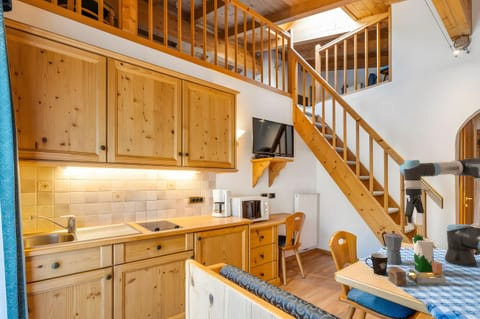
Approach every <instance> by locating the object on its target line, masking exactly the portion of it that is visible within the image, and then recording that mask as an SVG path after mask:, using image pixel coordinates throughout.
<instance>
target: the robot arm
mask: <svg viewBox="0 0 480 319" xmlns="http://www.w3.org/2000/svg"><path fill="white" fill-rule="evenodd" d="M420 161H421V160H419V159H407V160H404V161H403V163H402V164H401V165H400V166H399V173H400V175H401V176H404V182H403V183H404V185H405V195H406V196H409V197H406V204H405V205H406V207H405V213H404V217H406V220H407V221H406V222H407V230H415V225H414V224H415V222H414V216H413V215H414V212H415V210H416V223H417V224H416V225H418V226H424V219H423V218H424V215H423V214H425V210H424V209H425V208H424V206H423V205H424V204H423V202H422V195H423V192H422V189H423V188H422V177H424V178H425V177H437V176H439V175H452V176H454V177H455V176H463V177H470V178H472V177H473V180H474V181H475V182H476V188H475V189H476V191H475V203H474V204H475V205H474V214H473V223H472V224H465V223H464V224H463V223H461V224H458V223H457V224H455V223H454V224H448V225H447V226H446V238H447V239H446V240H447V249H446V253H445V256H444V261H445V262H447V263H449V264H451V265H456V266H460V267H477V263H478V261H477V259H476V257H475V255H474V252H473V250H475V251H478V252H480V157H469V158H463V159H454V160H451V161H447V162H446V161H444V162H443V161H442V162H440V161H439V162H420Z"/></svg>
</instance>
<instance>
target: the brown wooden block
mask: <svg viewBox="0 0 480 319" xmlns="http://www.w3.org/2000/svg"><path fill="white" fill-rule="evenodd" d="M387 274H388V281H389V282H390V283H392V284H394V285H395V286H396V287H407V286H408V285H407V271H406V270H404V269H402V268H401V267H399V266H387Z"/></svg>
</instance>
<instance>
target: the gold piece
mask: <svg viewBox="0 0 480 319" xmlns="http://www.w3.org/2000/svg"><path fill="white" fill-rule="evenodd" d="M432 270H433V272H425V273H420V275H421V277H444V276H443V275H444V274H443V263H442V262H440V261H434V262H432ZM407 278H408V280H409V281H411V280H417V279H416V274H415V273H410V272H407Z"/></svg>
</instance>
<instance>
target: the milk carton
mask: <svg viewBox="0 0 480 319" xmlns="http://www.w3.org/2000/svg"><path fill="white" fill-rule="evenodd" d="M412 246H413V259H414V260H413V262H414V270H416V271H417V272H419V273H425V272H433V270H432V262H435V258H434V241H433V240H431V239H429V238H424V237H423V235H418V234H415V235H414V237H412Z"/></svg>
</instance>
